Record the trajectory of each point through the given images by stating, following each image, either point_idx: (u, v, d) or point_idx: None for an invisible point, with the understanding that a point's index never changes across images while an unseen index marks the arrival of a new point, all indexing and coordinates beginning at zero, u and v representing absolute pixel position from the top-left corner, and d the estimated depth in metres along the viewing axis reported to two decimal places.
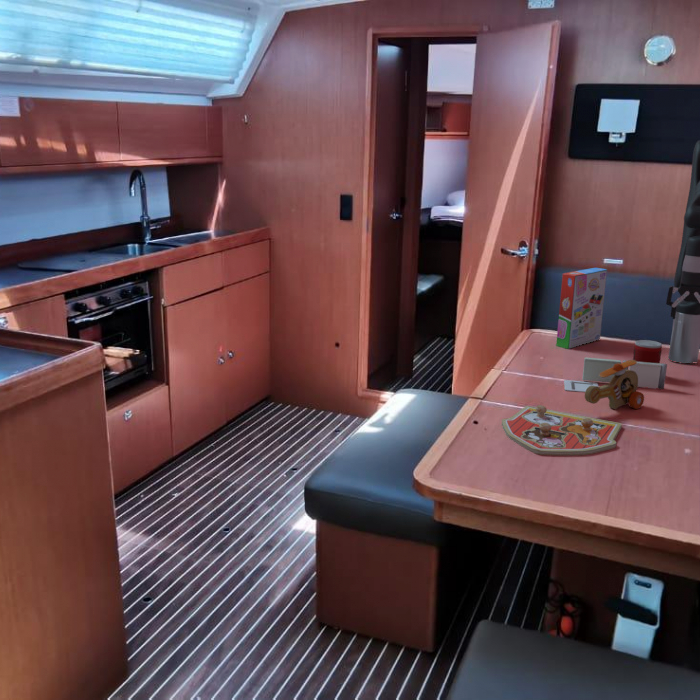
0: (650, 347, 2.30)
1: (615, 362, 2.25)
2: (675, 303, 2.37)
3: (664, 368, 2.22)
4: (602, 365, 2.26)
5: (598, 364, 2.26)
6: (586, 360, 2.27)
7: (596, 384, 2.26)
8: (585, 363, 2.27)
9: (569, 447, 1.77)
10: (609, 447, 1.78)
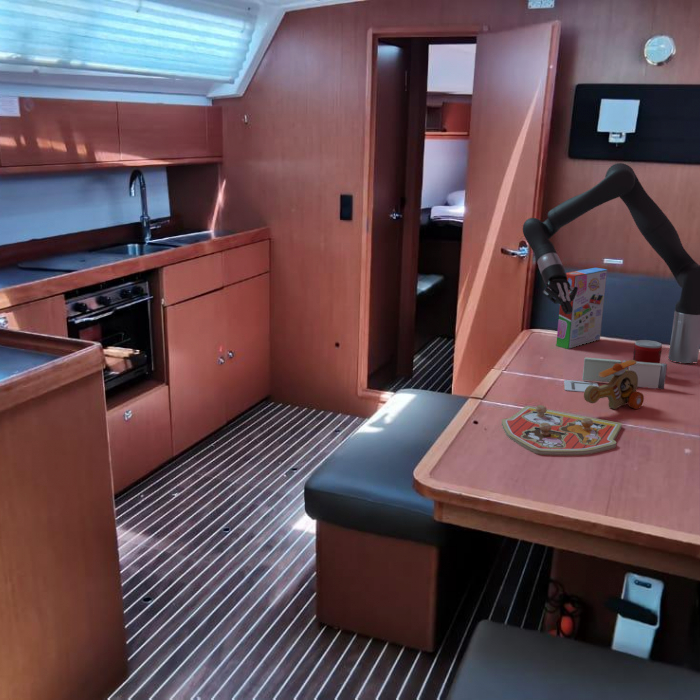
0: (650, 347, 2.30)
1: (615, 362, 2.25)
2: None
3: (664, 368, 2.22)
4: (602, 365, 2.26)
5: (598, 364, 2.26)
6: (586, 360, 2.27)
7: (596, 384, 2.26)
8: (585, 363, 2.27)
9: (569, 446, 1.77)
10: (609, 447, 1.78)
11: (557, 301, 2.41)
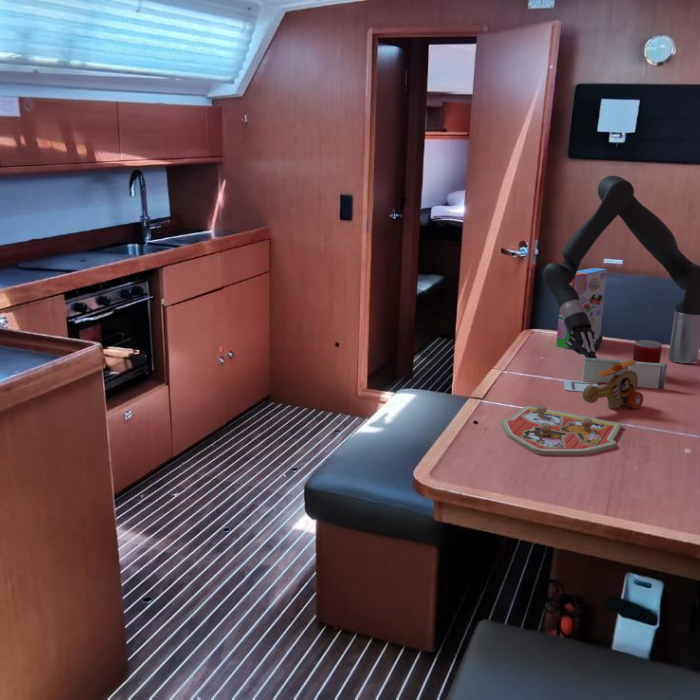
0: (650, 347, 2.30)
1: (615, 362, 2.25)
2: None
3: (664, 368, 2.22)
4: (602, 365, 2.26)
5: (598, 364, 2.26)
6: (586, 360, 2.27)
7: (596, 384, 2.26)
8: (585, 363, 2.27)
9: (569, 447, 1.77)
10: (609, 447, 1.78)
11: (581, 352, 2.30)
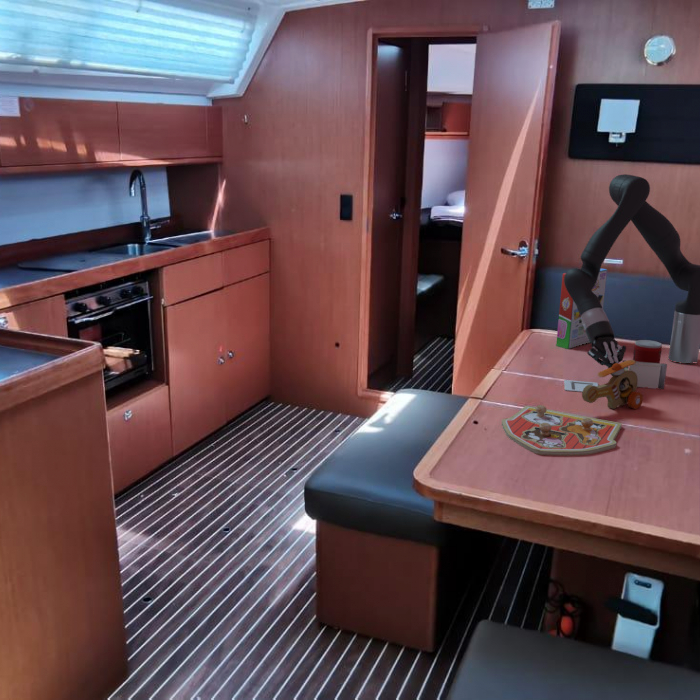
0: (650, 347, 2.30)
1: None
2: None
3: (664, 368, 2.22)
4: None
5: None
6: None
7: (596, 384, 2.26)
8: None
9: (569, 447, 1.77)
10: (609, 447, 1.78)
11: (604, 363, 2.20)
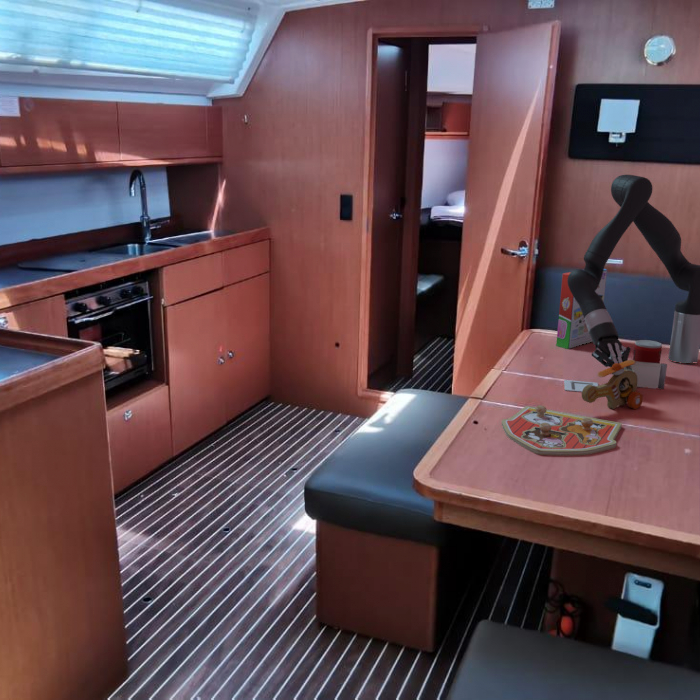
0: (650, 347, 2.30)
1: (630, 365, 2.22)
2: None
3: (664, 368, 2.22)
4: None
5: None
6: None
7: (596, 384, 2.26)
8: None
9: (569, 446, 1.77)
10: (609, 447, 1.78)
11: (608, 364, 2.18)
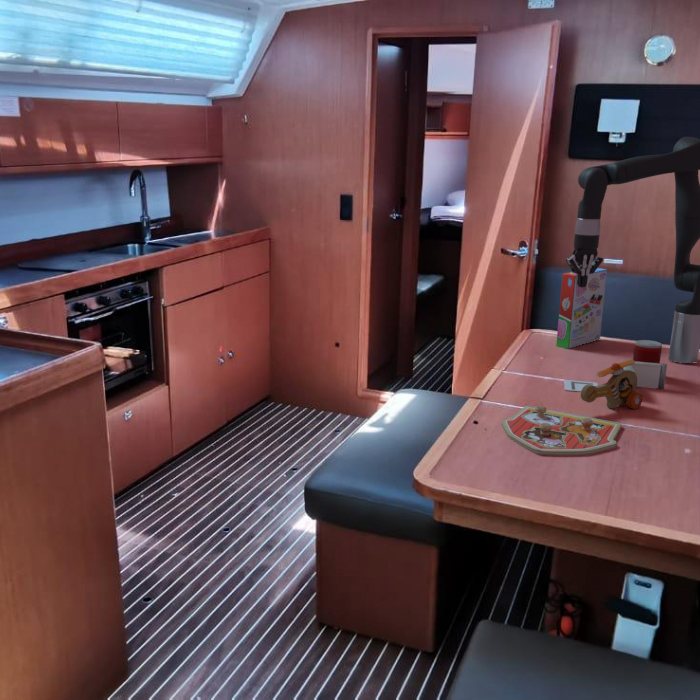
0: (650, 347, 2.30)
1: None
2: None
3: (664, 368, 2.22)
4: None
5: None
6: None
7: (596, 384, 2.26)
8: None
9: (569, 447, 1.77)
10: (609, 447, 1.78)
11: (576, 273, 2.35)
